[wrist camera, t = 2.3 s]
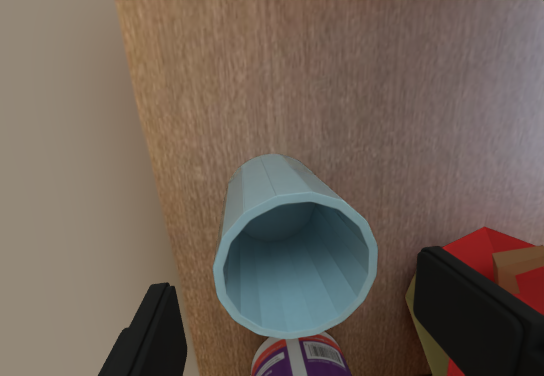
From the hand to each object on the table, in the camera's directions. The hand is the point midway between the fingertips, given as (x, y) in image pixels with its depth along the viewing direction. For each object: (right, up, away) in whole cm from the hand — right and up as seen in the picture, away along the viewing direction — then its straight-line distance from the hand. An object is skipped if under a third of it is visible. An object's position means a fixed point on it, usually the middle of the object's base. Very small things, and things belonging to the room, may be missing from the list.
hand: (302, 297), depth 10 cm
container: (-1, +3, +9) cm, 10 cm away
